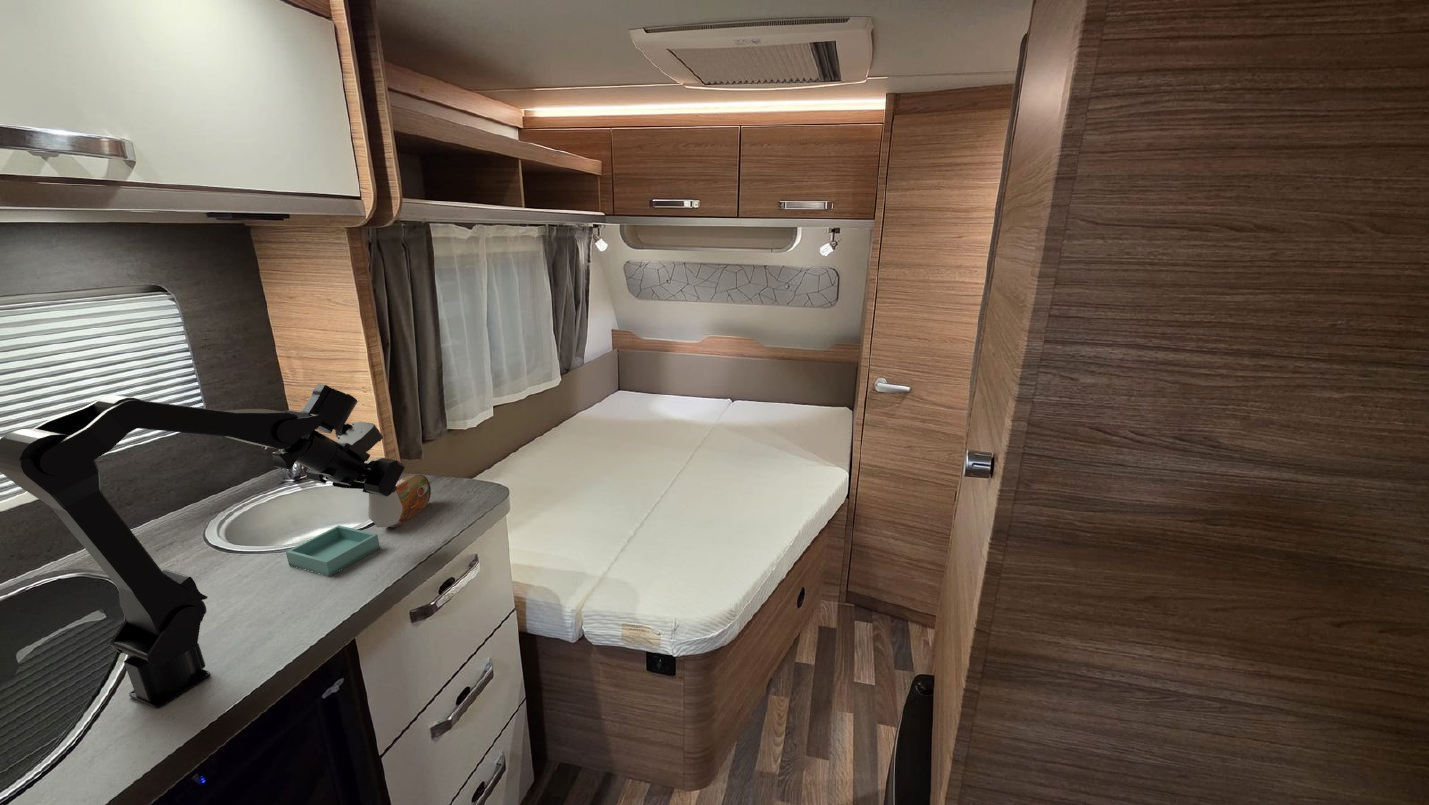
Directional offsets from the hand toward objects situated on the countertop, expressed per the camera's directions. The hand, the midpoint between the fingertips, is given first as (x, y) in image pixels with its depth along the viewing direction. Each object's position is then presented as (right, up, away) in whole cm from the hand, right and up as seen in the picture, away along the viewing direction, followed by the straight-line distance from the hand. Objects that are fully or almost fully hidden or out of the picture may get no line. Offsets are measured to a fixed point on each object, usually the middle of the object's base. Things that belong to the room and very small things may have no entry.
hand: (387, 488), depth 112 cm
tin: (-5, -9, +17) cm, 20 cm away
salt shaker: (0, -7, +1) cm, 7 cm away
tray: (-11, -13, +1) cm, 17 cm away
